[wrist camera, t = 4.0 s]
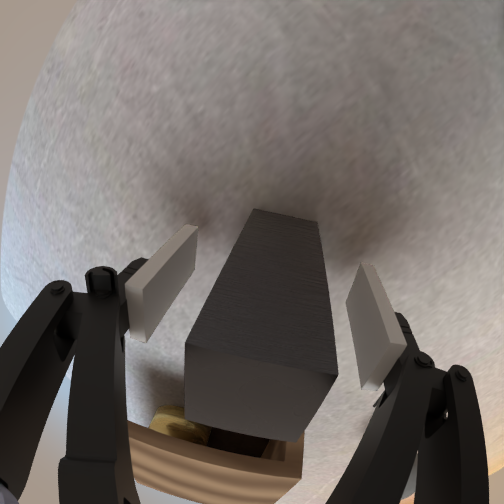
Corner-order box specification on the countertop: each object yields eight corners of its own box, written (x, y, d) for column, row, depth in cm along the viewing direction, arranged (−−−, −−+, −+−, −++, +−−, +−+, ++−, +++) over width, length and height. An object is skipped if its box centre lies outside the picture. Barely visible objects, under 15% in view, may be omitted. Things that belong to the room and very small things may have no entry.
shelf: (144, 361, 26) (107, 427, 18) (305, 400, 25) (301, 478, 17) (157, 435, 33) (137, 482, 25) (268, 463, 32) (260, 514, 24)
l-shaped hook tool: (253, 208, 18) (185, 342, 7) (317, 222, 18) (338, 374, 7) (218, 411, 27) (189, 508, 16) (255, 419, 27) (235, 518, 16)
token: (154, 397, 29) (145, 416, 26) (213, 415, 28) (207, 436, 25) (159, 424, 32) (151, 441, 29) (210, 440, 31) (204, 458, 28)
